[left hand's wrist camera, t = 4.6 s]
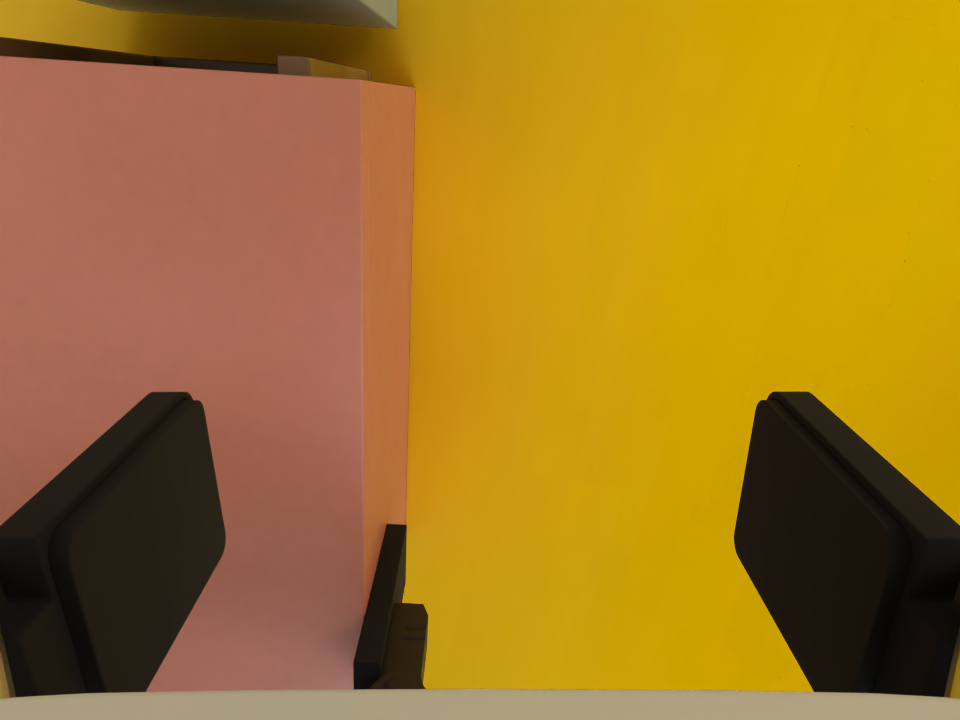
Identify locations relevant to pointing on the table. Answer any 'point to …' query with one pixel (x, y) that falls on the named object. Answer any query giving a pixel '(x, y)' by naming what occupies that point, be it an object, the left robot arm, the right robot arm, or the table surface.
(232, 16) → the drawer
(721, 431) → the table surface
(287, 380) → the cabinet
